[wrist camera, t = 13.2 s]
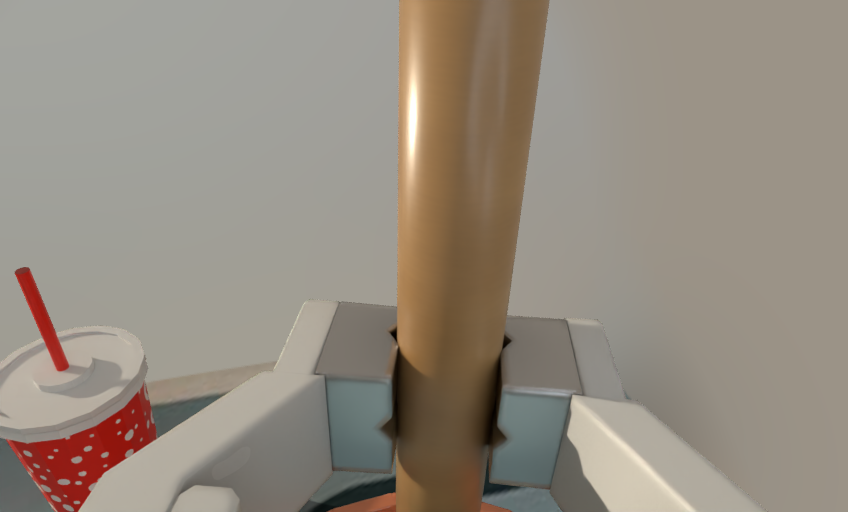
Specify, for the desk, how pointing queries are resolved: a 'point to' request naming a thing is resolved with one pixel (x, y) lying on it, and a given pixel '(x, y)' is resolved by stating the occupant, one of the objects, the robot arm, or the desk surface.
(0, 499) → the desk surface
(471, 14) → the wooden post stand
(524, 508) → the desk surface
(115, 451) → the beverage cup
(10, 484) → the desk surface
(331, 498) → the desk surface
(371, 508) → the bowl
